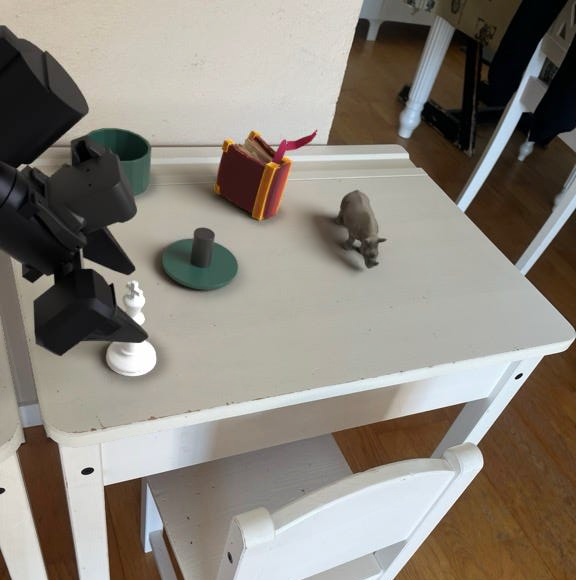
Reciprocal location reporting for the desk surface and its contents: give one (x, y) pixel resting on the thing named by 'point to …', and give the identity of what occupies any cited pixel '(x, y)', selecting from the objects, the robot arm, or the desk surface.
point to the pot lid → (200, 261)
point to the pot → (128, 154)
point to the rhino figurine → (360, 226)
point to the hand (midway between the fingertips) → (138, 303)
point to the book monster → (256, 173)
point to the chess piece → (132, 355)
